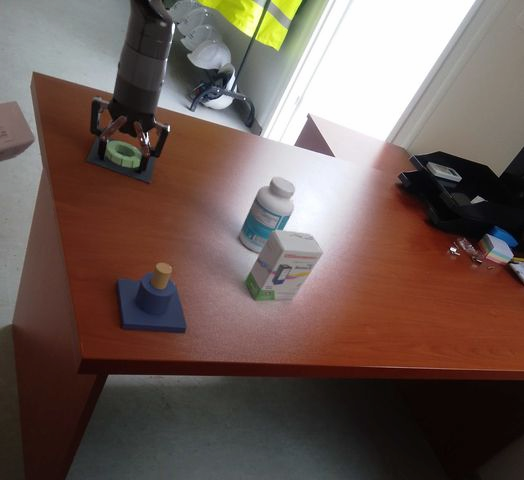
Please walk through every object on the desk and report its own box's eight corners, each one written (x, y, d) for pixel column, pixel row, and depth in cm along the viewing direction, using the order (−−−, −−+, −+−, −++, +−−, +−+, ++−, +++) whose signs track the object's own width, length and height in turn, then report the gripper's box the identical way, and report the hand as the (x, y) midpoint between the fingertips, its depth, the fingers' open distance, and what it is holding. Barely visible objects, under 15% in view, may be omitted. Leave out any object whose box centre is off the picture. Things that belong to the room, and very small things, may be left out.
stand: (122, 329, 63) (134, 287, 57) (116, 283, 68) (127, 241, 62) (184, 333, 67) (201, 294, 62) (174, 290, 72) (189, 251, 67)
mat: (86, 161, 85) (86, 160, 85) (97, 134, 93) (98, 133, 93) (149, 184, 89) (150, 183, 89) (156, 156, 97) (156, 155, 97)
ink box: (281, 281, 86) (311, 231, 78) (293, 301, 83) (325, 251, 76) (243, 281, 81) (270, 227, 73) (254, 301, 79) (284, 248, 71)
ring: (102, 159, 85) (103, 152, 84) (108, 143, 89) (109, 136, 88) (138, 172, 87) (139, 165, 86) (142, 155, 91) (144, 149, 90)
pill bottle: (261, 231, 95) (290, 174, 86) (278, 255, 92) (309, 198, 83) (231, 230, 91) (258, 169, 82) (247, 255, 87) (277, 194, 78)
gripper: (182, 87, 83) (159, 169, 94) (101, 51, 78) (86, 142, 89) (180, 102, 78) (155, 187, 89) (92, 65, 73) (78, 159, 84)
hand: (121, 164), depth 89 cm, fingers closed on ring, 6 cm apart
